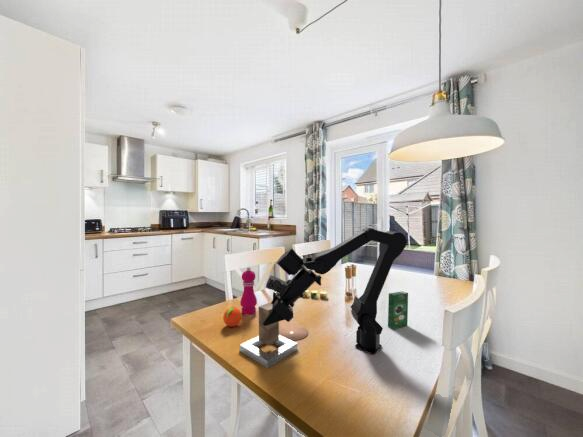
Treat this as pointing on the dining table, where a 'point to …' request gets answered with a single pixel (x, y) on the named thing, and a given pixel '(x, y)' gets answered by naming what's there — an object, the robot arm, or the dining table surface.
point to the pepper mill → (248, 293)
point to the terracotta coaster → (293, 332)
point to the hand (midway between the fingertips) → (264, 320)
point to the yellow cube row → (315, 294)
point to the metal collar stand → (271, 358)
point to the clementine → (232, 316)
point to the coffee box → (398, 310)
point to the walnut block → (268, 332)
